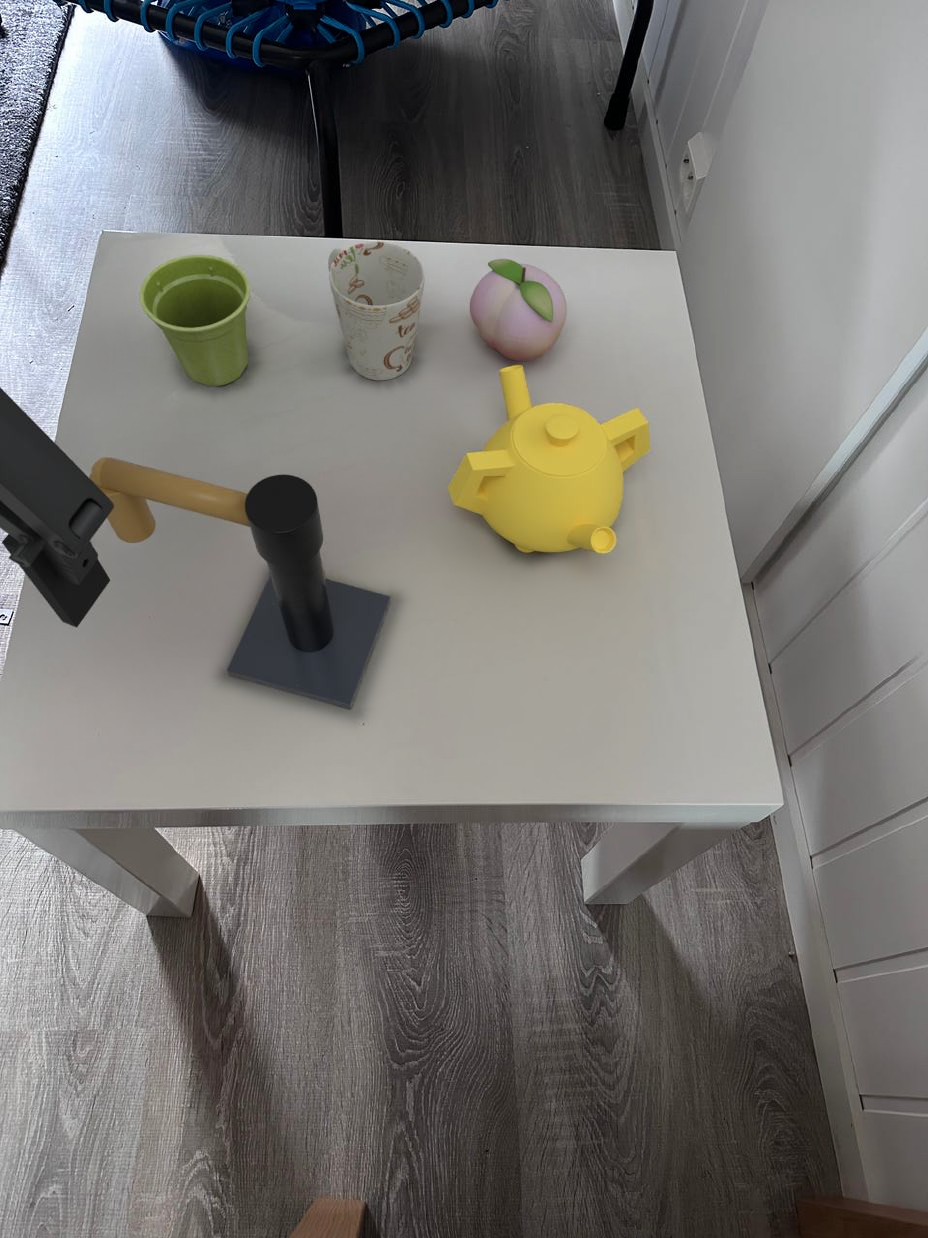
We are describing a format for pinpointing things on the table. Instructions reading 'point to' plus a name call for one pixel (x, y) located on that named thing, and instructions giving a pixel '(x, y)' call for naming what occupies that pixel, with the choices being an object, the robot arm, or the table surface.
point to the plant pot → (201, 315)
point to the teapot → (551, 472)
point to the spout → (216, 507)
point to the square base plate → (310, 635)
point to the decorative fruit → (518, 309)
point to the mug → (377, 305)
